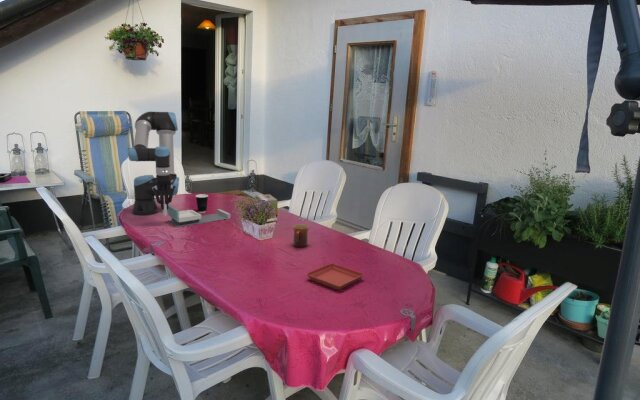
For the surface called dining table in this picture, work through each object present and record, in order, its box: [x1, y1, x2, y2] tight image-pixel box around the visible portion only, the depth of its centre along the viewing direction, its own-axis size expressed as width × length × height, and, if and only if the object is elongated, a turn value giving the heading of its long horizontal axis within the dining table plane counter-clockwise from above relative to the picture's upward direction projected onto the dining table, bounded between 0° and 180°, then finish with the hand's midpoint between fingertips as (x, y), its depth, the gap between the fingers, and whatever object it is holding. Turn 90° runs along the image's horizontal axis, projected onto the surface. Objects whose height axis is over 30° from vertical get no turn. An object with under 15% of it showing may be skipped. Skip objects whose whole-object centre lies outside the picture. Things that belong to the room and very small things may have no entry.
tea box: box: [254, 194, 279, 219], centre depth 267 cm, size 15×10×15 cm
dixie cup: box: [195, 193, 209, 214], centre depth 279 cm, size 8×8×11 cm
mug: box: [292, 223, 310, 248], centre depth 223 cm, size 12×9×10 cm
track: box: [167, 208, 232, 228], centre depth 262 cm, size 14×34×3 cm, turn 130°
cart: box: [167, 204, 202, 225], centre depth 255 cm, size 14×15×9 cm
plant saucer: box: [306, 263, 364, 291], centre depth 185 cm, size 18×18×3 cm
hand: (164, 214), depth 248 cm, fingers closed
